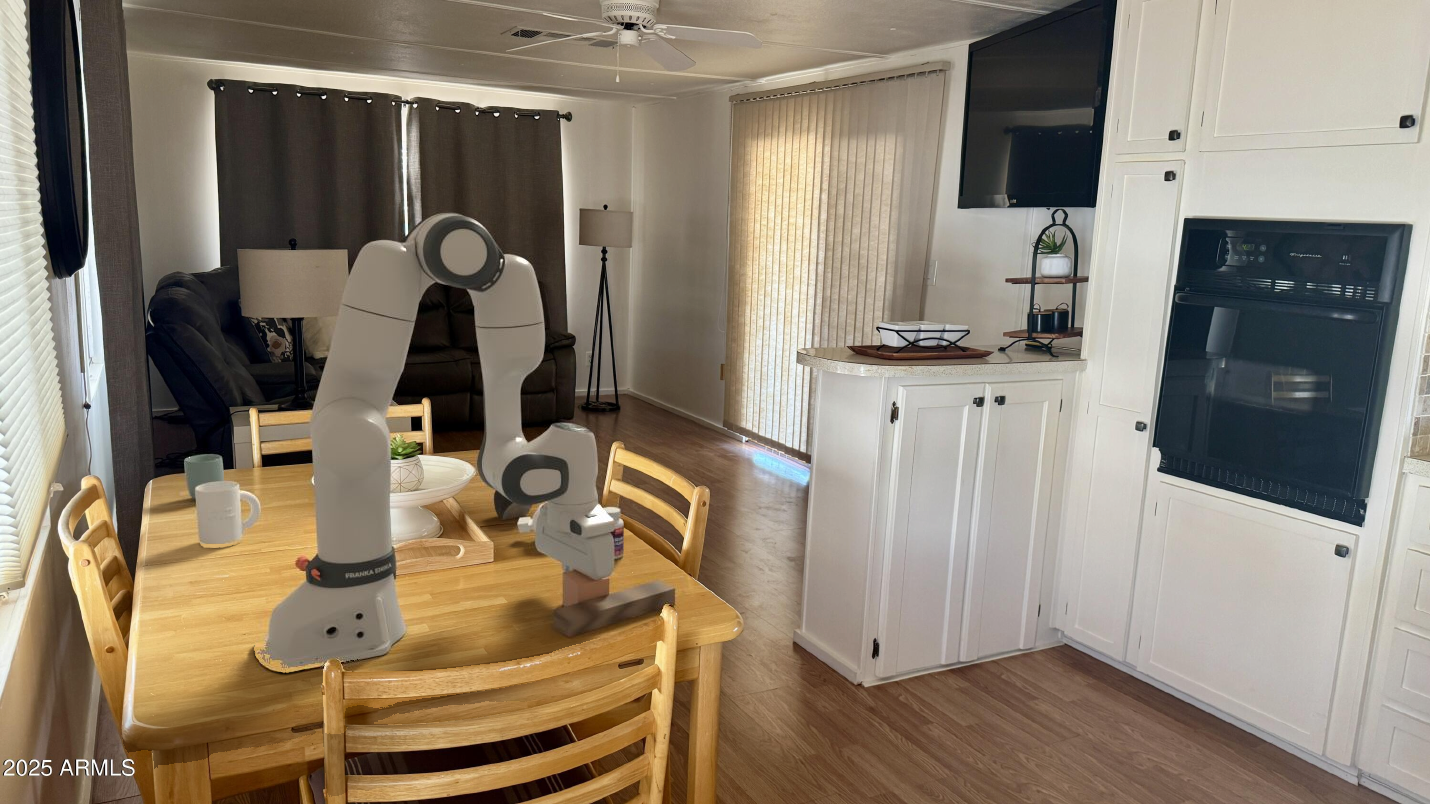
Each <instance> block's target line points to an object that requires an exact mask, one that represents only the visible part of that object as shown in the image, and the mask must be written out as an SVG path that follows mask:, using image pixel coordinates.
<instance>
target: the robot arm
mask: <svg viewBox="0 0 1430 804" xmlns="http://www.w3.org/2000/svg"><path fill="white" fill-rule="evenodd" d="M434 283H439V284H442V285H447V286H450V287H454V288H459V289H465V290H466V291H467V292H468V293H469V295H470V298H471V301H472V305H473V306H474V323H475V324H474V325H475V333H476V341H477V348H478V354H479V361H480V367H481V368H480V369H481V374H482V392H483V393H482V395H483V418H484V421H483V422H484V434H483V439H482V442H481V445H480V449H479V450H478V451H479V452H478V455H477V460H476V466H477V472H478V475H479V478H480V479H481V481H483V483H484V484H485V485H486V486H487V487H489V488H491V489H493V490H494V491H496V490H497V491H498V492H499V493H501V494H502V495H503V496H505V497H506V498H507V499H509V500H510V501H512V502H513V503H516V504H518V505H523V506H529V505H532V506H533V505H538V504H543V503H544V504H543V505H542V507H540V515H539V516H538V518H537V522H536V532H535V531H534V532H535V536H534V537H535V538H534V543H535V547H536V549H537V551H538V552H539V553H542V554H543V555H546V556H547V557H549V558H552V559H553V560H556V561H558V562H560V563H561V568H562V571H563V572H568V571H572V570H577V571H579V572H581V573H583V574H585V575H587V576H589V577H591V578H593V579H595V580H599V579H602V578H606V577H609V578H610V576H611V575H612V574H613V573H614V569H615V559H614V540H613V537H612V535H611V533H610V532H612V531H614V530H615V522H614V520H613V519H612V518H611V517H610V516H609V515H608V514H607V513H606V512H605V511H604V510H603V508H604V507H602V506H601V504H600V503H599V501H598V500H599V498H598V491H597V486H596V483H597V482H596V481H597V478H598V473H599V472H598V462H599V461H598V450H597V443H596V438H595V434H594V433H593V432H592V431H591V430H590V429H588V428H587V427H585V426H582V425H580V424H576V423H573V422H571V423H569V422H555V423H552V424H551V425H550V426H549V428H548V429H547V430H546V431H544V432H543V433H542V434H541V435H539V436H537V437H536V438H534V439H532V440H531V441H529V442H528V440H526V438H525V436H524V433H523V431H522V411H521V410H522V408H521V388H522V385H523V382H524V380H525V378H526V377H527V376H528V375H530V374H531V373H532V372H533V371H535V370H536V369H537V368H538V367H539V365H540V364H541V362H542V361H543V358H544V352H545V346H546V345H545V344H546V331H545V318H544V317H545V316H544V308H543V302H542V297H541V296H542V295H541V292H540V287H539V283H538V280H537V276H536V272H535V270H534V267H533V265H532V264H531V263H530V262H529V260H527V259H525V258H523V257H521V256H518V255H515V254H509V253H508V254H507V253H506V254H504V253H503V252H502V250H501V248H500V247H499V246H498V244H497V242H495V240H494V238H493V236H492V235H491V233H489V231H488V230H487V228H486V227H485V226H483V225H482V224H481V223H480V222H479V221H477V220H475V219H473V218H472V217H468V216H465V215H462V214H460V213H456V212H441V213H437V214H436V213H435V214H431V215H428V216H427V217H425V218H423V219H422V220H421V221H419V222H418V223H417V224H416V225H415V226H414V227H412V229H411V230H410V231H409V232H408V233H407V234H406V235H405V236H404V237H403V238H402V239H401V240H400V241H399V242H398V241H393V240H391V239H390V240H388V239H381V240H375V241H370V242H368V243H367V244H365V245H364V246H363V247H362V248H361V250H360V251H359V253H358V255H357V257H356V259H355V262H354V263H353V266H352V268H351V271H350V273H349V276H348V279H347V282H346V285H345V287H344V289H343V294H342V298H341V302H340V305H339V310H338V314H337V318H336V322H335V326H334V330H333V335H332V340H331V343H330V347H329V350H328V351H329V352H328V355H327V357H326V358H327V359H326V361H325V364H324V368H323V371H322V375H321V379H320V382H319V386H318V388H317V392H316V396H315V399H314V400H315V401H314V403H313V407H312V411H311V414H310V417H309V418H310V419H309V424H308V425H309V431H310V433H309V434H310V442H311V443H310V444H311V451H312V466H313V468H312V470H313V489H314V490H313V491H314V514H315V527H316V528H315V529H316V544H317V545H316V546H317V548H316V549H317V553H316V554H315V555H314V557H313V558H312V559H311V560H310V559H309V558H308V557H307V556H304V555H300V556H298V557H297V558H296V559H295V562H294V565H295V567H296V568H297V569H298V570H299V571H301V572H305V579H306V580H304V581H303V582H302V583H301V584H300V585H299V586H297V588H295V589H294V590H293V591H292V592H291V593H290V594H289V595H288V596H286V597H285V598H284V599H283V600H282V601H281V602H280V603H278V604H277V605H276V606H275V607H274V608H273V609H272V612H271V614H270V617H269V618H270V619H269V625H268V633H267V634H268V635H267V634H266V635H267V638H265V637H266V636H264V635H263V636H264V638H265V639H264V641H265V640H266V639H268V640H266V642H267V643H266V645H265V646H267V647H265V649H266V651H265V650H264V649H263V650H261V649H260V651H261V653H260V652H258V653H257V654H261V655H262V654H263V657H262V659H263V660H264V661H265V662H266V659H265V655H264V654H268V655H270V657H269V664H270V659H272V660H273V661H274V660H281V661H283V662H282V663H280V664H281V665H282V668H285V665H287V666H288V668H290V667H298V666H305V665H308V664H315V663H322V662H324V664H325V663H326V662H327V660H330V659H339V660H340V661H342V660H343V661H344V663H347V662H346V661H349V662H351V661H350V660H354V661H359V660H363V659H368V658H373V657H378V656H383V655H385V654H387V653H388V652H389V651H390V649H391V647H392V645H393V644H395V643H396V642H397V641H399V640H400V639H401V638H402V637H403V636H404V635H405V633H406V632H407V626H406V622H405V620H404V617H403V615H402V611H401V608H400V603H399V598H398V593H397V588H396V587H397V586H396V581H395V580H396V579H397V556H396V552H395V551H396V550H395V547H394V545H393V542H392V519H391V479H392V478H391V476H392V472H391V471H392V469H391V468H392V454H391V453H392V449H391V447H392V446H391V445H392V443H391V441H392V440H391V438H392V437H391V433H390V429H389V427H388V424H387V417H388V416H387V415H388V412H389V409H390V405H391V402H392V400H393V397H394V394H395V390H396V389H397V386H398V382H399V380H400V378H401V375H402V373H403V372H404V369H405V364H406V359H407V355H408V351H409V347H410V344H411V339H412V335H413V332H414V327H415V323H416V319H417V314H418V310H419V303H420V301H421V300H422V297H423V295H424V294H425V292H426V291H427V289H428V288H429V287H430V286H431V285H433V284H434ZM546 502H547V503H546ZM563 572H562V573H563ZM260 637H261V636H260ZM261 638H262V637H261ZM259 641H260V640H259ZM262 641H263V640H262ZM318 659H319V660H318ZM357 659H358V660H357ZM267 663H268V658H267ZM283 664H284V667H283ZM324 664H323V665H324ZM323 665H322V667H321V668H323ZM287 666H286V668H287Z"/></svg>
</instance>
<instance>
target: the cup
mask: <svg viewBox="0 0 1430 804" xmlns="http://www.w3.org/2000/svg"><path fill="white" fill-rule="evenodd" d="M183 461H184V462H183V463H184V475H185V482H186V483H185V484H186V488H187V492H188V495H189V496H190V497H191V499H193V500H194V499H196V497H195V488H196V487H197V486H199V485H202V484H205V483H210V482H218V481H225V479H224V477H225V476H224V475H225V474H224V473H225V472H224V463H223V457H222V456H221V455H219V454H215V453H214V454H213V453H210V454H206V453H205V454H197V455H192V456H188V457H186V458H184V460H183Z"/></svg>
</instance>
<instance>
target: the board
mask: <svg viewBox="0 0 1430 804" xmlns="http://www.w3.org/2000/svg"><path fill="white" fill-rule="evenodd" d="M665 604H670V605H671V606H673V605H672V604H674V605H676V588H675V587H673V586H672V585H669V584H667V583H666V582H664V581H662V580H659V579H657V580H653V581H649V582H646V583H643V584H638V585H637V586H633V587H629V588H625V589H621V590H619V591H615V592H612V593H611V592H610V593H609V594H608V595H604V596H601V597H597V598H594V599H590V600H587V601H583V602H580V603H576V604H573V605H569V606H566V607H565V606H562V607H560V608H559V607H558V608H555V609H552V628H553V629H555V630H556V631H558V632H560V633H561V634H563V635H565V636H566V638H567V637H568V638H572V637H574V636H578V635H580V634H581V635H582V634H585V633H588V632H591V631H594V630H597V629H601V628H604V627H606V626H610V625H614V624H616V623H619V622H623V621H626V620H629V619H632V618H635V617H639V616H642V615H646V614H649V613H651V612H655V611H658V610H661V609H663V608H662V607H663V606H664V605H665Z"/></svg>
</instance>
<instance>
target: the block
mask: <svg viewBox="0 0 1430 804" xmlns="http://www.w3.org/2000/svg"><path fill="white" fill-rule="evenodd" d="M608 594H610V576H609V577H606V578H602V579H599V580H595V579H593V578H591V577H589V576H587V575H585V574H583V573H581V572H579V571H577V570H572V571H568V572H562V606H563V607H566V606H569V605H573V604H576V603H580V602H583V601H587V600H590V599H594V598H597V597H601V596H604V595H608Z"/></svg>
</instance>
